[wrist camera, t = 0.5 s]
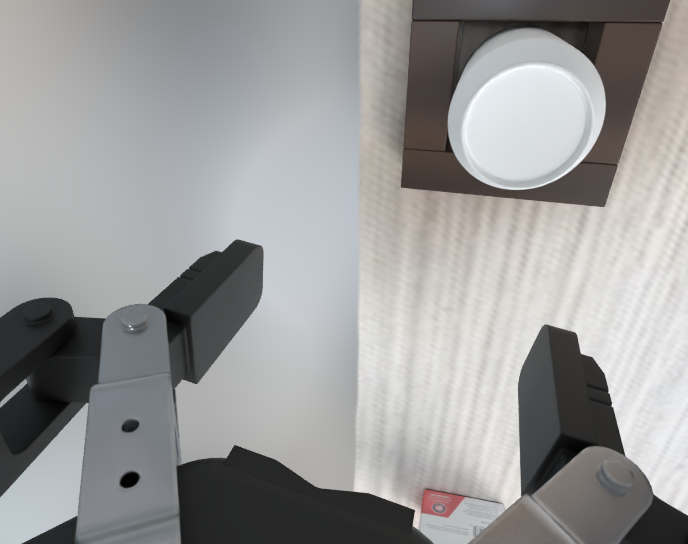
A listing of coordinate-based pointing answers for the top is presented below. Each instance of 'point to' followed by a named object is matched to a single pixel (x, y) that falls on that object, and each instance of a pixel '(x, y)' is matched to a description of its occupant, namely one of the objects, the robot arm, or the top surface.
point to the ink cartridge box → (455, 517)
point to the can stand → (600, 48)
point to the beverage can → (525, 109)
